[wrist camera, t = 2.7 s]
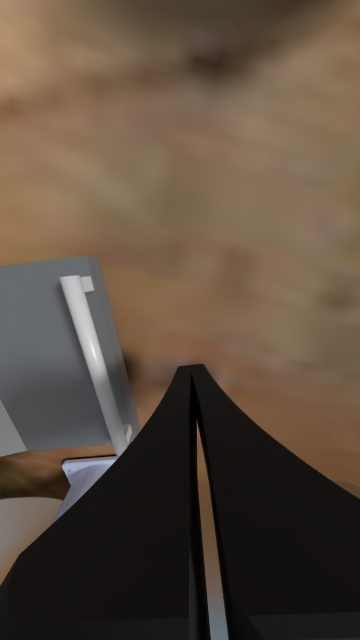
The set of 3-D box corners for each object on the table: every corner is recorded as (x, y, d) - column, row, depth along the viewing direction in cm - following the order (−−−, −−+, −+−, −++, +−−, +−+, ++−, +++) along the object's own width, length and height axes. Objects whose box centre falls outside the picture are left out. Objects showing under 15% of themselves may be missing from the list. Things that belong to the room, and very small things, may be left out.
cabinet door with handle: (143, 413, 16) (130, 465, 12) (52, 421, 16) (7, 475, 12) (107, 258, 12) (67, 253, 8) (-13, 273, 12) (-115, 276, 8)
